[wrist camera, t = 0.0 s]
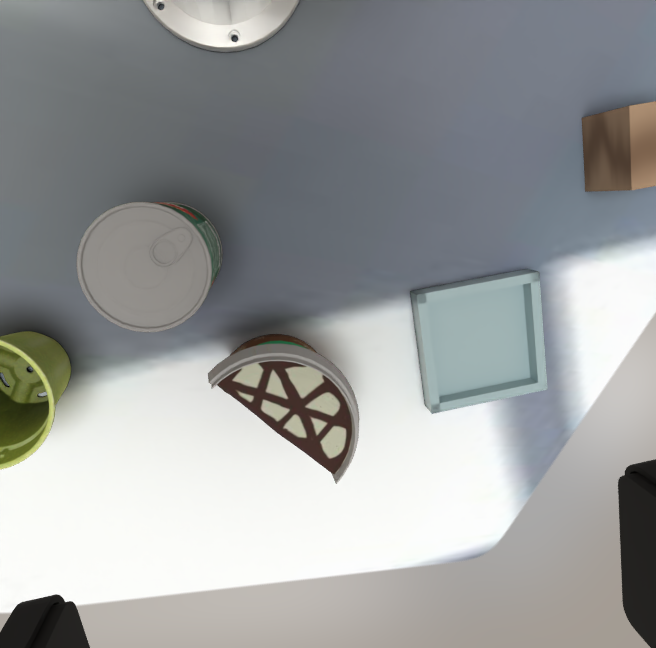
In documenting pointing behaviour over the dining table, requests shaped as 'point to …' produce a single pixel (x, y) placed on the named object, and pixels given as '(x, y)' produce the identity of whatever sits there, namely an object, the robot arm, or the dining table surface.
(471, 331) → the tray
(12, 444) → the plant pot
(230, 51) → the robot arm
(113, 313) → the canned tomato
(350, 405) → the food container
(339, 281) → the dining table surface
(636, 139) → the cube
